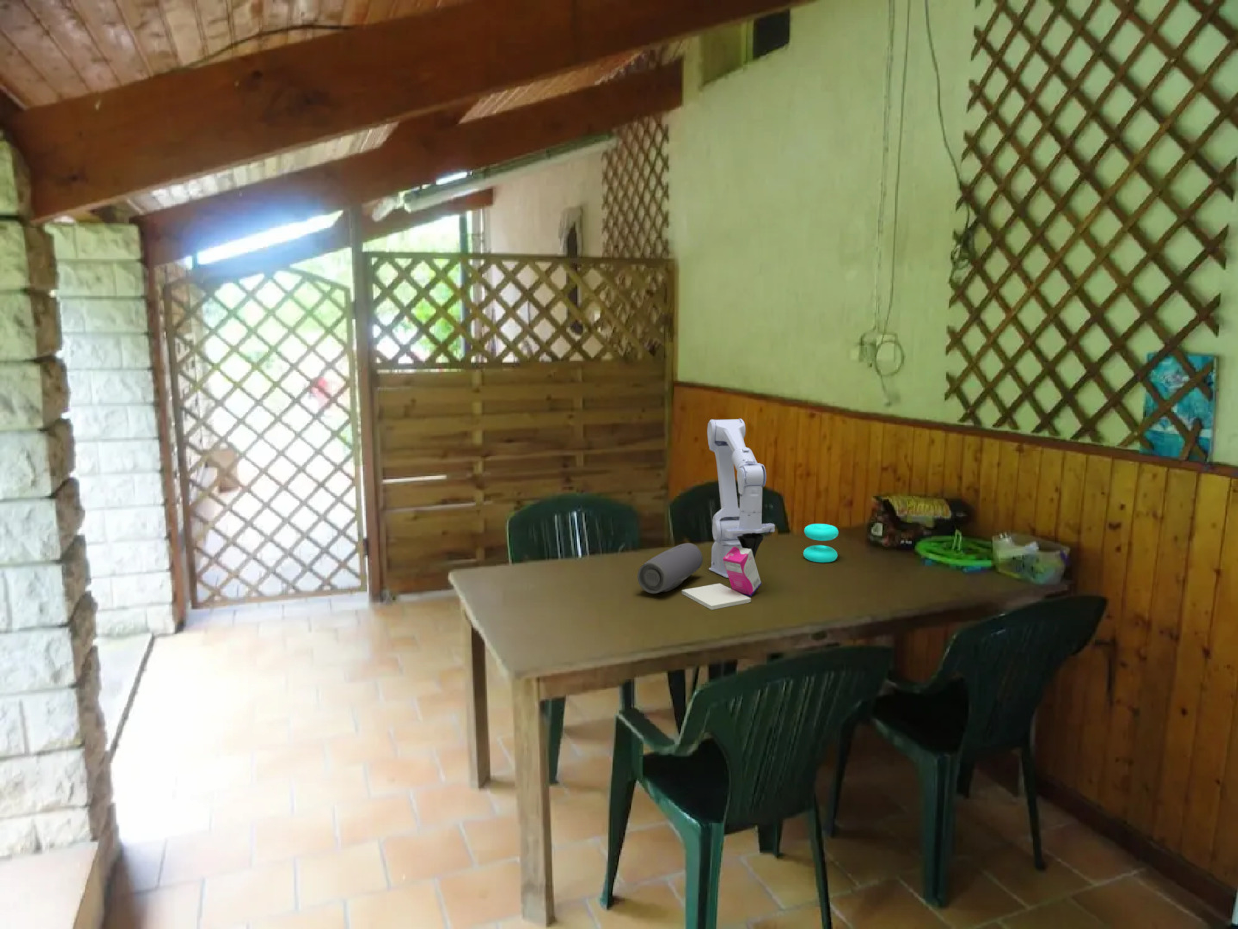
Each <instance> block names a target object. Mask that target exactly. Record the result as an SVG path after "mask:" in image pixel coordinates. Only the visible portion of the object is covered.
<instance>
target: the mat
mask: <svg viewBox="0 0 1238 929" xmlns="http://www.w3.org/2000/svg"><path fill="white" fill-rule="evenodd" d="M681 594H682V595H684V596H686V597H687V598H689V599H691V600H692V601H694V602H696V603H698V604H700V605H702V606H703V607H705V608H707V609H709V610H717V609H723V608H729V607H733V606H738V605H744V604H747V603H751V601H752V598H751V597H750V596H746V595H743V594H741V593H739V592H737V591H735V590H732V588H731V587H728V586H726V585H725V584H722V583H713V584H708V585H703V586H697V587H692V588H685V589H682V590H681Z"/></svg>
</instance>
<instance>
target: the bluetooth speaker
mask: <svg viewBox="0 0 1238 929" xmlns="http://www.w3.org/2000/svg"><path fill="white" fill-rule="evenodd" d="M703 562H704V559H703V555H702V551H701V550H700V548H699V547H698V546H697V545H696V544H694V543H690V542H685V543H681V544H678V545H676V546H673V547H671V548H669V549H667V550H665V551H663V552H661V553H659V554H657V555H655V556H653V557H652V558H650V559H649V560H648V561H646V562H644V563H643V564H642V565H641V566H640V567H639V569H638V571H637V582H638V584H639V586H640V588H641V589H642V590H643V591H645V592H647V593H649V594H659V593H662V592H670V591H672V590H674V589H676V588H677V587H679V586H680V585H681V584H683V582H684V581H685V580H686V579H687V578H689V577H690V576H691V575H693V574H694V573H696V572H697V571H698V570H699V569H700V568H701V567H702V564H703Z"/></svg>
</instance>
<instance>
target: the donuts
mask: <svg viewBox="0 0 1238 929" xmlns="http://www.w3.org/2000/svg"><path fill="white" fill-rule="evenodd" d="M803 532H804V534H805V536H806V537H807V538H809V539H810V540H815V541H820V542H821V541H822V542H825V541H832V540H834V539H836V538H837V537H838V536H839V530H838V527H836V526H835V525H832V524H831V525H830V524H827V523H811V524H808V525H807V526H805V528H804V530H803ZM803 557H804V558H805V559H806V560H808V561H810V562H814V563H821V564H822V563H824V564H826V563H831V562H834V561H836V560H837V558H838V552H837V550H836V549H834V548H833V547H831V546H828V545H822V544H816V545H815V544H814V545H810V546H807V547H806V548H805V549H804V550H803Z"/></svg>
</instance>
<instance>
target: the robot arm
mask: <svg viewBox="0 0 1238 929" xmlns="http://www.w3.org/2000/svg"><path fill="white" fill-rule="evenodd" d="M706 431H707V432H706V434H707V441H708V442H707V443H708V447H709V451H711V452H714V455H715V461H716V470H717V478H718V479H717V480H718V491H719V498H720V500H719V501H720V508H721V509H719V510H718V511H717V512H716V513H715V514H714V515H713V516H712V527H711V528H712V530H711V532H712V537H713V540H714V542H713V544H712V546H711V567H709V568H708V570H709V571H711V572H713V573H714V574H715V573H716V574H717V575H719V576H722V577H724V578H728V579H729V577H728V574H727V571H726V568H725V564H724V561H723V558H724V557H725V556H726V554H727V553H728V552H729V551H730V550H731V549H732V548H733V547H734V546H736V547H741V548H747V549H751V550H752V553H753V557H754V560H756V559H755V558H756V555H757V552H758V550H759V546H760V545H761V543H762V542H763V540H764V535H763V534H762V533H769V532H770V533H774V532H775V527H776V525H775V524H774V523H771V522H769V523H762V516H763V513H762V512H763V511H762V510H763V488H764V487H765V486H766V482H767V472H766V471H767V470H766V467H765V465H764V464H762V463H760V462H759V463H758V461H757V460H756V457H755V455H754V452H753V451H752V449H751V448H750V447H746V444H745V441H744V438H745V437H746V424H745V421H744V420H743V419H742V418H738V419H737V418H736V419H734V418H733V419H731V418H730V419H710V420H709V421H708V423H707V430H706ZM735 470H736V471H737V472H736V476H735ZM736 480H737V486H736ZM737 488H738V489H737ZM737 491H738V493H737ZM737 494H739V502H738V496H737ZM738 503H739V504H738Z"/></svg>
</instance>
